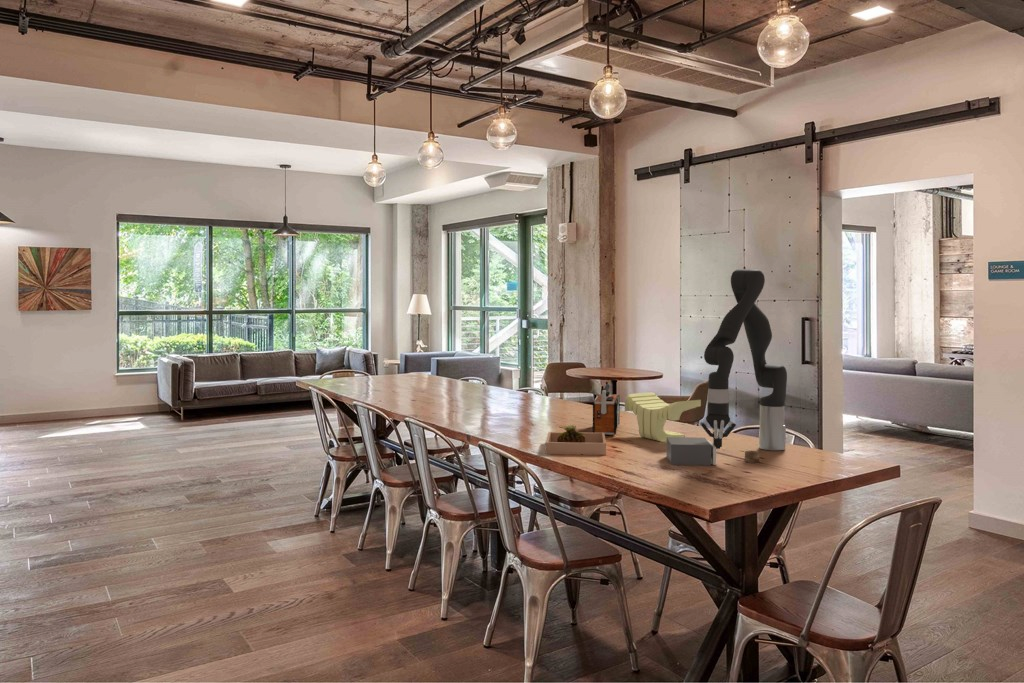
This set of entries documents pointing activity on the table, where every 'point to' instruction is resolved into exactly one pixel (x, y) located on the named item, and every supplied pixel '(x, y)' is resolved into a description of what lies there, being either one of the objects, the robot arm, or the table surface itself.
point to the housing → (688, 451)
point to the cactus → (571, 435)
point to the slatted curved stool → (656, 414)
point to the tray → (713, 453)
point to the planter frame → (577, 444)
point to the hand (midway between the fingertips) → (717, 448)
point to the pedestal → (752, 456)
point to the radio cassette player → (606, 412)
